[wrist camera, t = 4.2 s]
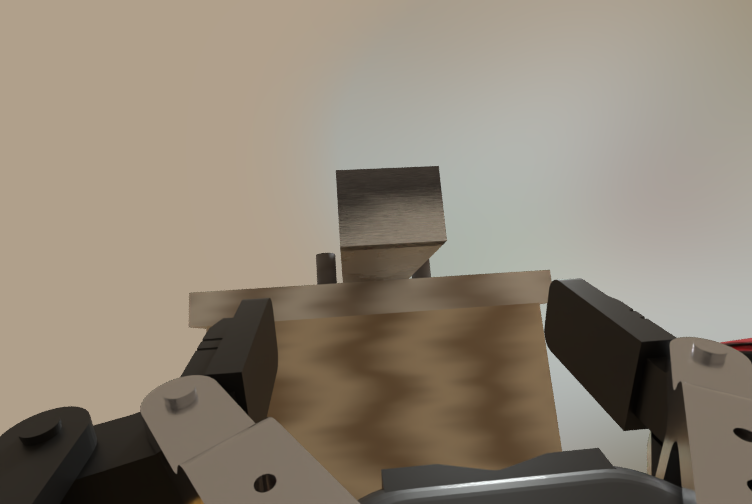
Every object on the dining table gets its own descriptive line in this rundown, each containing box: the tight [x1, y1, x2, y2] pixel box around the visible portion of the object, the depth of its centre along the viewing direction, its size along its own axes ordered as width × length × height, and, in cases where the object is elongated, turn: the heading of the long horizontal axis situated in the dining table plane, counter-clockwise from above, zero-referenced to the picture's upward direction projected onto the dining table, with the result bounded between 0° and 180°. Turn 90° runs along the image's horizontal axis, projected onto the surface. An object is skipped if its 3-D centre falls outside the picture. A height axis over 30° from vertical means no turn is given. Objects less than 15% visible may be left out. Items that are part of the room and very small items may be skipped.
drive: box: [336, 166, 447, 283], centre depth 28 cm, size 4×26×3 cm, turn 4°
